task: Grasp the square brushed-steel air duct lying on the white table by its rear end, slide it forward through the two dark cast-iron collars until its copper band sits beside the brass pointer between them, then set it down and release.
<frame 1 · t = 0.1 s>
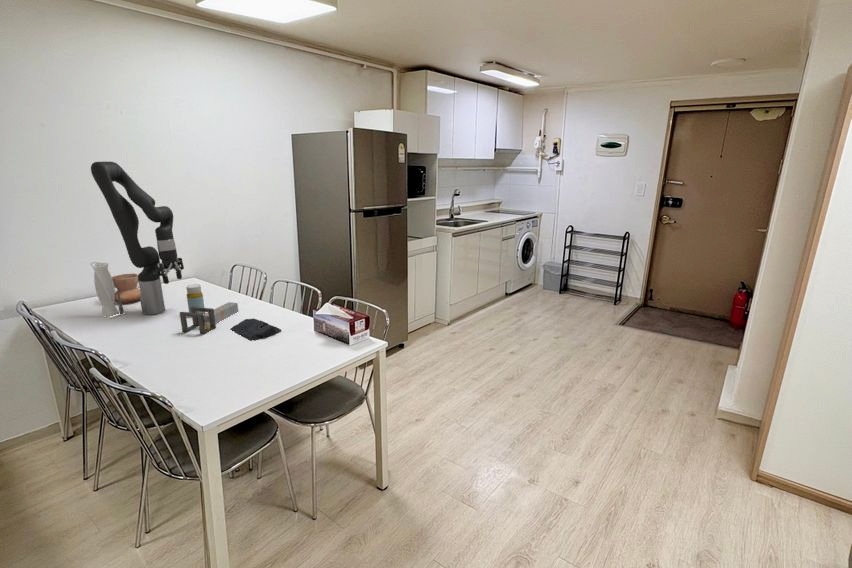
hand: (173, 281, 215), 17 cm above the table, tool pointing down, fingers open, 8 cm apart
bottle: (197, 314, 219), on the table
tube: (221, 318, 214), on the table
cast iron trivet: (255, 332, 200), on the table
skyscraper: (111, 316, 217), on the table
collars: (199, 330, 200), on the table
ceramic jug: (128, 301, 238), on the table
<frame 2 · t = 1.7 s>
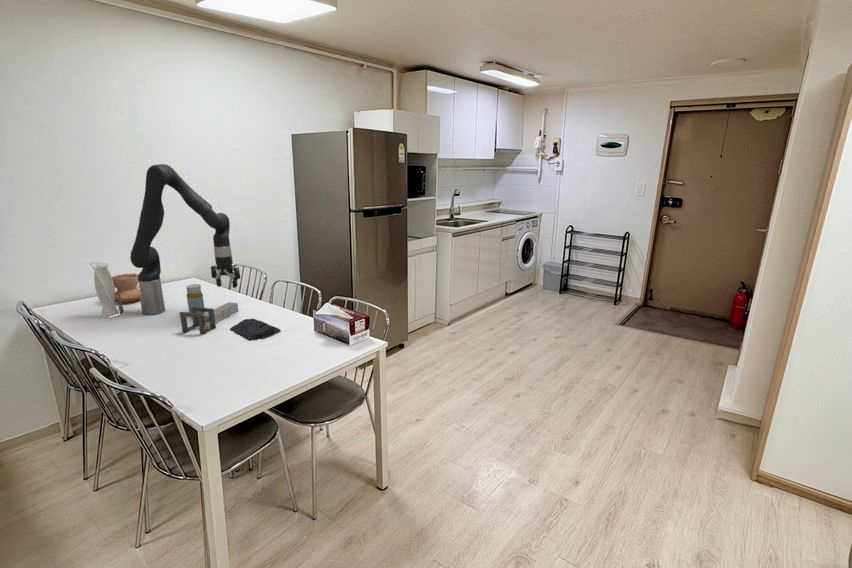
hand: (227, 286, 217), 14 cm above the table, tool pointing down, fingers open, 8 cm apart
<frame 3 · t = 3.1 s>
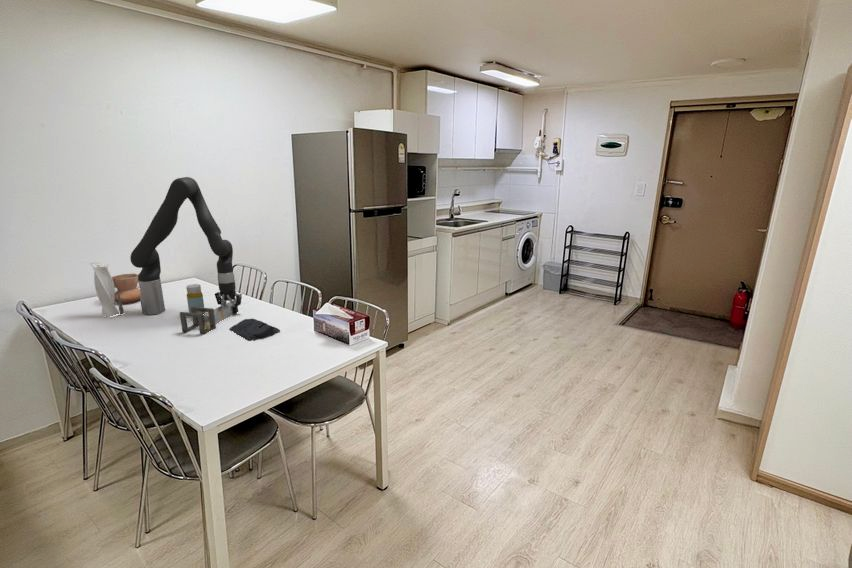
hand: (230, 312, 221), 0 cm above the table, tool pointing down, fingers closed on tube, 5 cm apart
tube: (221, 318, 214), on the table, touching gripper
everything else where it was.
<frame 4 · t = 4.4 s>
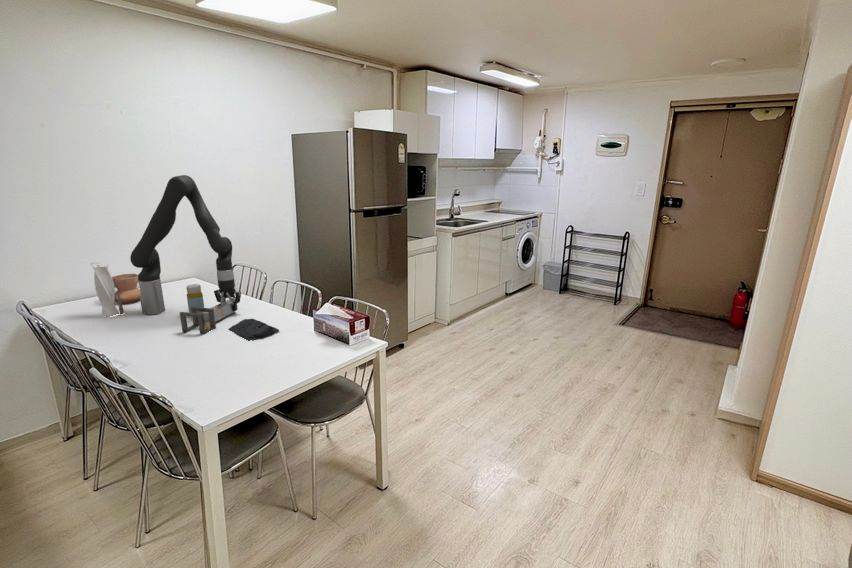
hand: (229, 310, 220), 2 cm above the table, tool pointing down, fingers closed on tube, 5 cm apart
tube: (220, 316, 214), point 1 cm above the table, touching gripper
everything else where it was.
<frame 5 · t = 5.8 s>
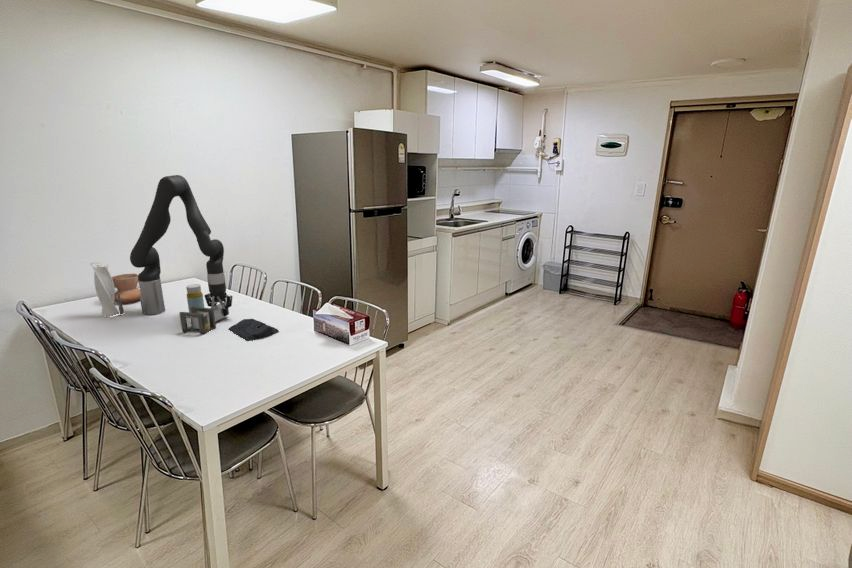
hand: (220, 315, 214), 2 cm above the table, tool pointing down, fingers closed on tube, 5 cm apart
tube: (211, 320, 207), point 1 cm above the table, touching gripper
when the fingers open (1 cm above the table, at t = 7.9 s): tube stays where it is, on the table.
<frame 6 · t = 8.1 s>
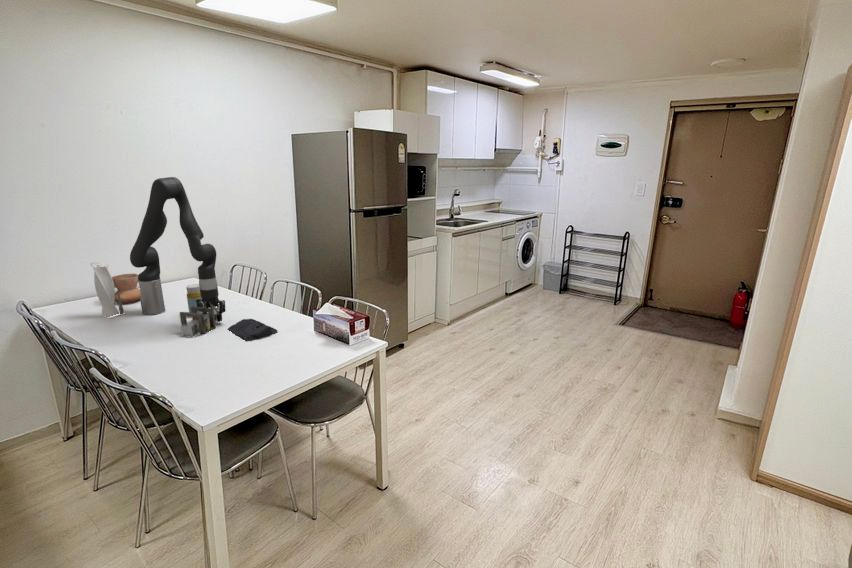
hand: (213, 320, 208), 1 cm above the table, tool pointing down, fingers open, 6 cm apart
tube: (203, 328, 202), on the table
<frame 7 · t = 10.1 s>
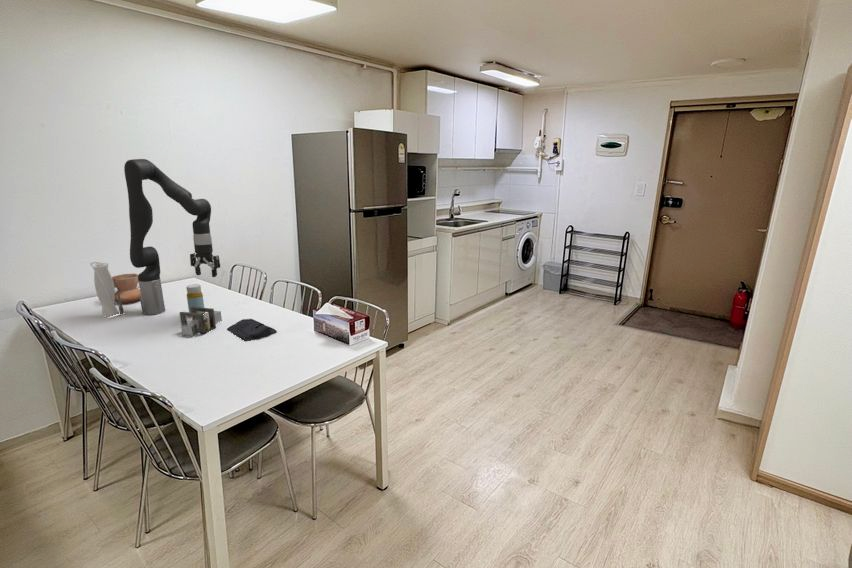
hand: (206, 275, 209), 21 cm above the table, tool pointing down, fingers open, 8 cm apart
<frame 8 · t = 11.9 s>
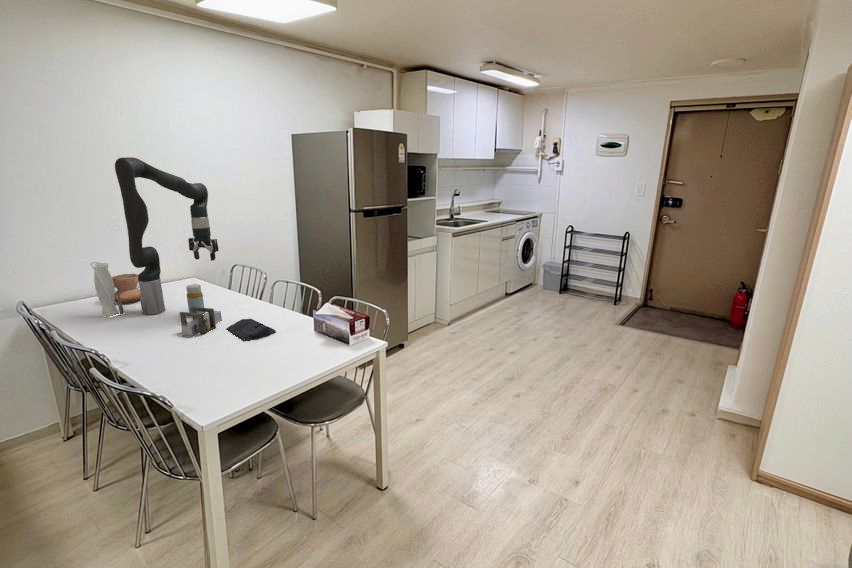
hand: (205, 259, 212), 28 cm above the table, tool pointing down, fingers open, 8 cm apart
at the end: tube 0.6 cm from the target spot, on the table; the gripper is holding nothing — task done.
